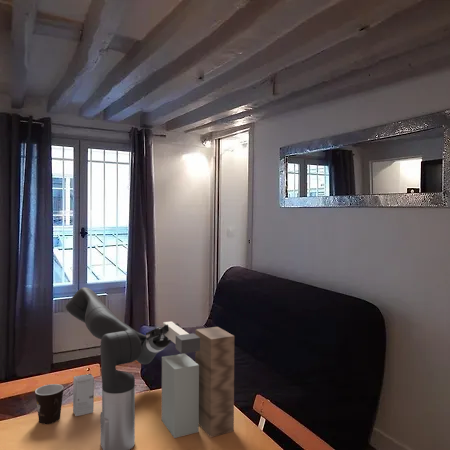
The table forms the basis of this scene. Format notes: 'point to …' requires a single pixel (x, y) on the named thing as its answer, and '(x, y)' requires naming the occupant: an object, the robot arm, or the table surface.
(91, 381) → the skincare box
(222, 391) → the brown tall block
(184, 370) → the pale green block
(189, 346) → the bar
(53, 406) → the coffee mug
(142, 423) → the table surface
